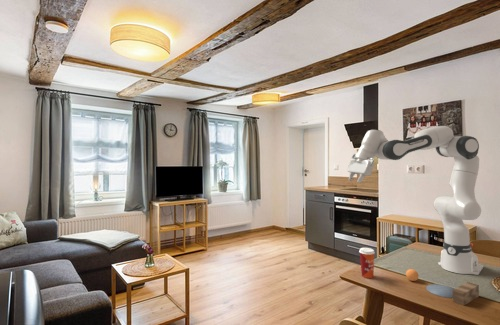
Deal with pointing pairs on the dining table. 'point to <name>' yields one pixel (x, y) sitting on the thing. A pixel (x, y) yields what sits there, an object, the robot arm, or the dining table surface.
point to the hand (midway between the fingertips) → (354, 181)
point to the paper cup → (367, 262)
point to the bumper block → (465, 293)
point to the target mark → (441, 290)
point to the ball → (412, 275)
